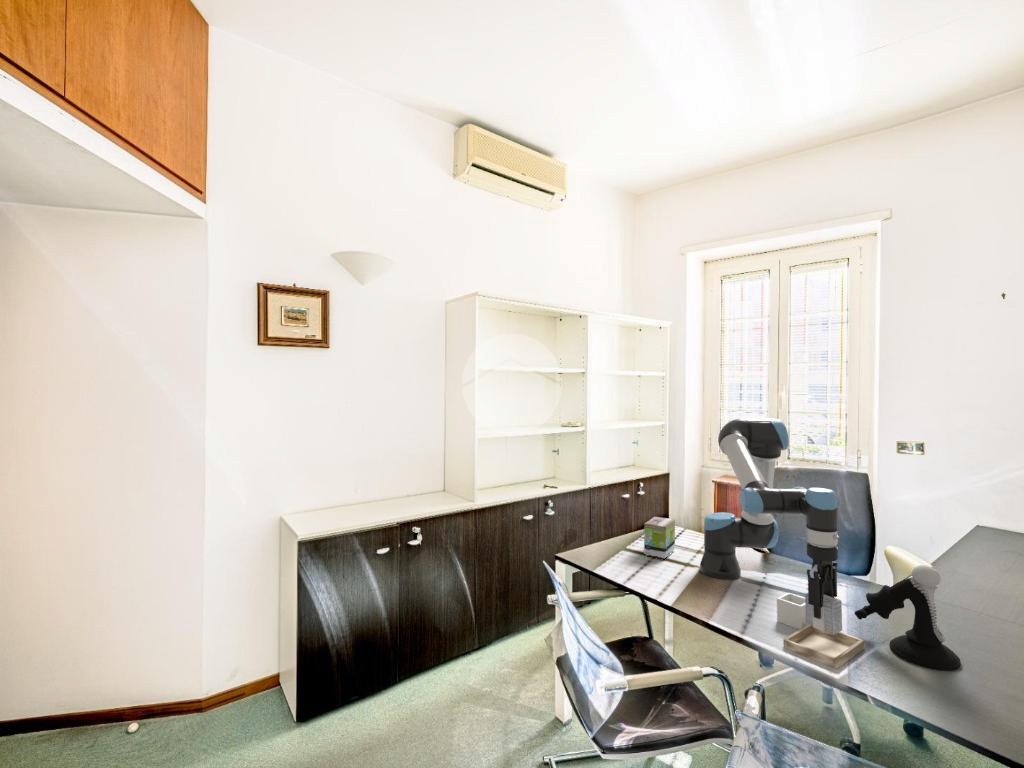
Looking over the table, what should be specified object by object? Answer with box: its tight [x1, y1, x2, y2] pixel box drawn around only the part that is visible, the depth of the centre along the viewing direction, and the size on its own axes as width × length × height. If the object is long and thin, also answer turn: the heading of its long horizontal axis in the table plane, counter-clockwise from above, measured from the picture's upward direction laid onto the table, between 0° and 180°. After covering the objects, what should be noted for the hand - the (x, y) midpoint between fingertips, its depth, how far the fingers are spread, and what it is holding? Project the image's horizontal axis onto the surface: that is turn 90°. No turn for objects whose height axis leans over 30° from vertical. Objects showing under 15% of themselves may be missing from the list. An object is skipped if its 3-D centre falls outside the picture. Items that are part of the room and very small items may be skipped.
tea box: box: [643, 516, 676, 559], centre depth 222 cm, size 15×10×15 cm
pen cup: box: [776, 592, 808, 630], centre depth 154 cm, size 7×7×8 cm
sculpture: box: [854, 564, 962, 672], centre depth 139 cm, size 15×24×25 cm, turn 41°
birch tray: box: [783, 624, 865, 670], centre depth 139 cm, size 14×18×3 cm
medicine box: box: [804, 592, 843, 634], centre depth 139 cm, size 8×4×9 cm, turn 28°
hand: (823, 626), depth 139 cm, fingers closed on medicine box, 5 cm apart
